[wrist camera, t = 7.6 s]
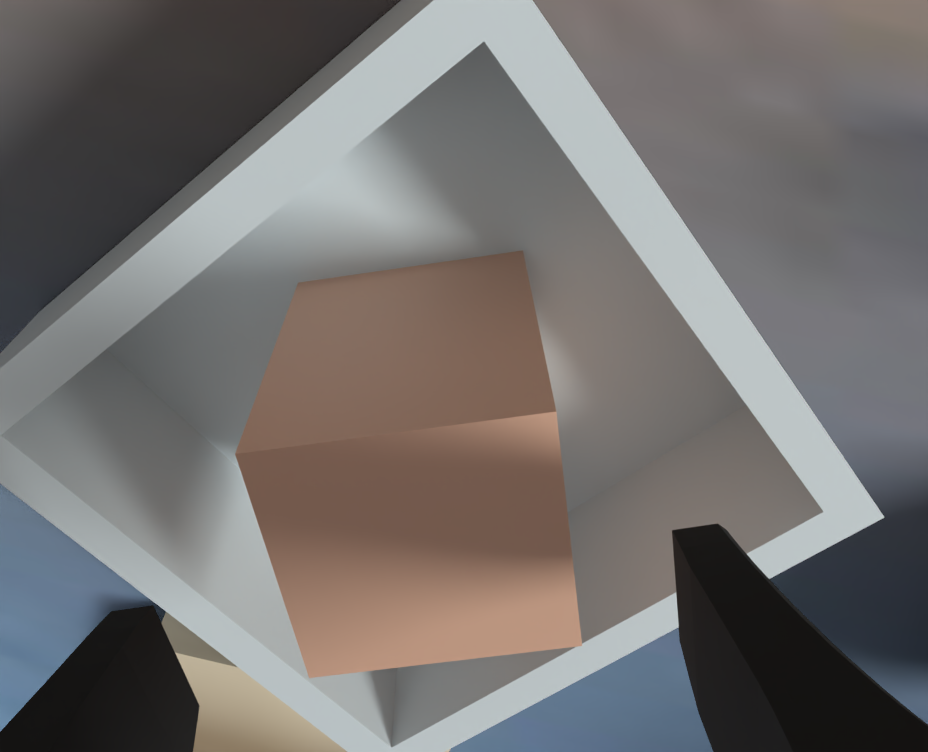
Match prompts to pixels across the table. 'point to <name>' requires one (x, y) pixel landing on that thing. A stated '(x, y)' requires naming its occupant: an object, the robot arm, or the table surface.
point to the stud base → (238, 704)
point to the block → (413, 470)
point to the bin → (397, 246)
